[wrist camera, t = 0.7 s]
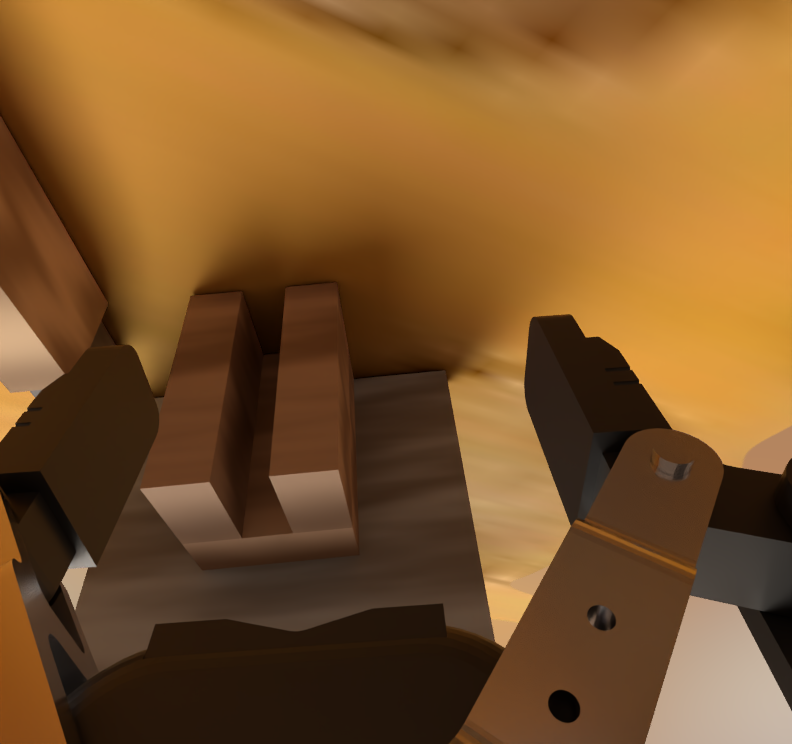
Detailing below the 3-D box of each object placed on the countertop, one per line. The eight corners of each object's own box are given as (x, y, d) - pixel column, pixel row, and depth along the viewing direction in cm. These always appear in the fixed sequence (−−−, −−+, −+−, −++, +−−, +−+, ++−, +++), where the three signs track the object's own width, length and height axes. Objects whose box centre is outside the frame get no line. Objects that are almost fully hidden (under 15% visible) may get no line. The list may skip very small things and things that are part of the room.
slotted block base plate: (80, 306, 31) (-118, 737, 17) (446, 271, 31) (534, 672, 17) (148, 414, 38) (46, 779, 24) (445, 386, 38) (507, 733, 24)
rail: (-145, 16, 20) (-264, 80, 16) (-62, 8, 20) (-160, 70, 16) (87, 359, 34) (53, 441, 30) (137, 354, 34) (110, 436, 30)
